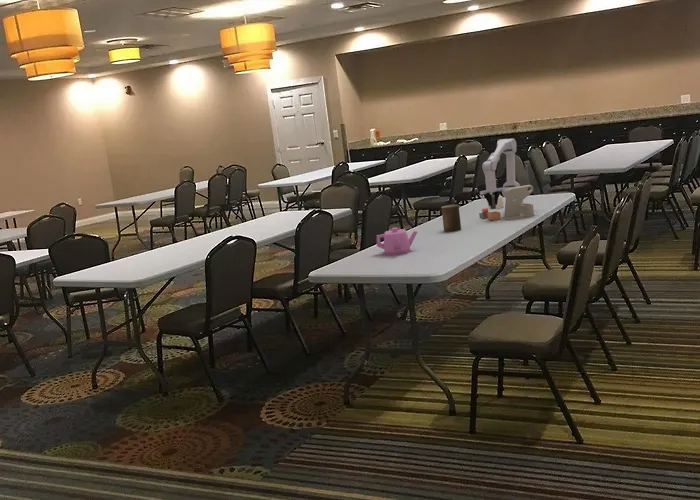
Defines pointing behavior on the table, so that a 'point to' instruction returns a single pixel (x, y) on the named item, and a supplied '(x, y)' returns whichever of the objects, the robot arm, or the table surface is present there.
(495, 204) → the marker
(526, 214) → the phone holder
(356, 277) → the table surface
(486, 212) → the button
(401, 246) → the teakettle
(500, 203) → the medicine bottle
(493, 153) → the robot arm
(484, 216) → the button base
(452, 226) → the pillar candle
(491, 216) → the pen cup
